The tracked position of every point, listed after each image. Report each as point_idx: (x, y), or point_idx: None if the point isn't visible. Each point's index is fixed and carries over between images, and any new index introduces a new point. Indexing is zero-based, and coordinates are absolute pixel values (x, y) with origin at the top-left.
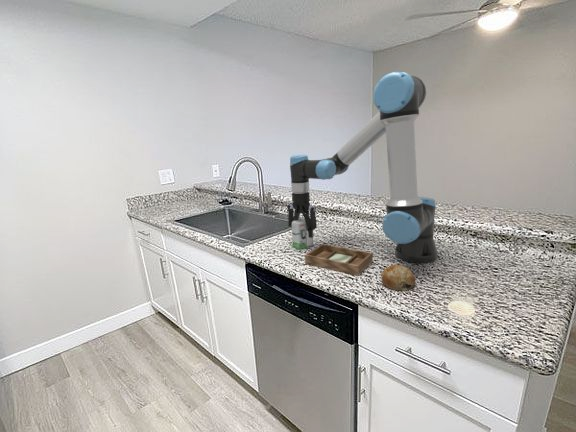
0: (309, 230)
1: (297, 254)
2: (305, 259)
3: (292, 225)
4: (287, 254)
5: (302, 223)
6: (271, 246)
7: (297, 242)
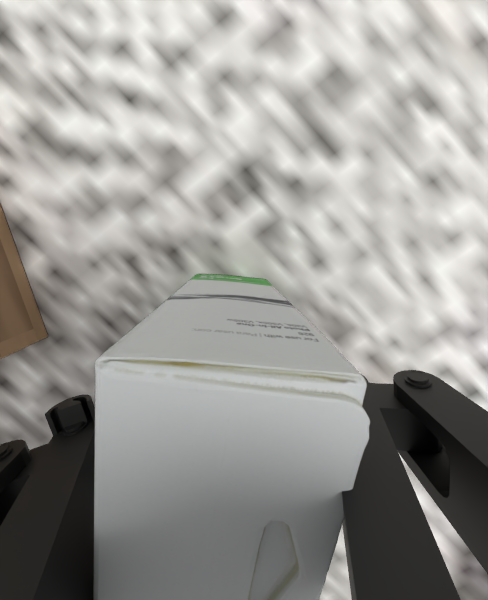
0: (54, 410)
1: (142, 198)
2: None
3: (306, 338)
4: (198, 152)
5: (100, 461)
6: (406, 198)
7: (208, 281)
